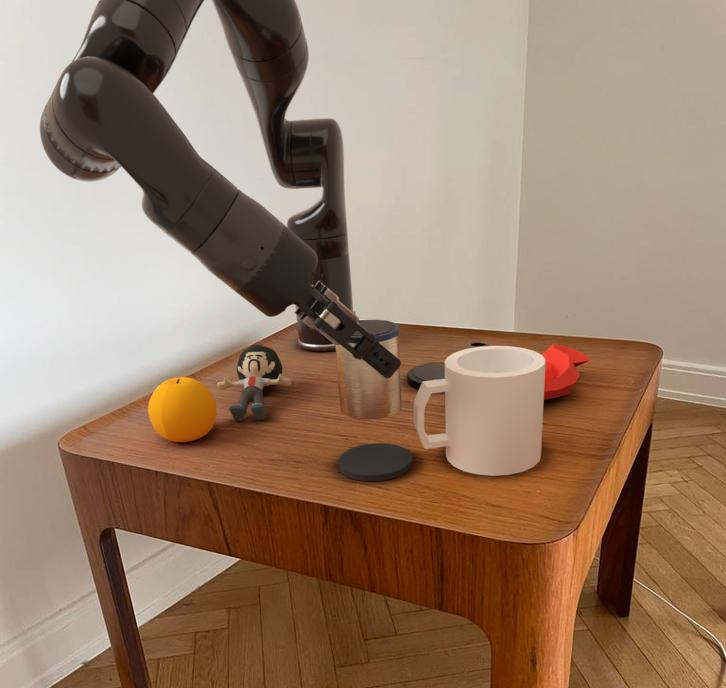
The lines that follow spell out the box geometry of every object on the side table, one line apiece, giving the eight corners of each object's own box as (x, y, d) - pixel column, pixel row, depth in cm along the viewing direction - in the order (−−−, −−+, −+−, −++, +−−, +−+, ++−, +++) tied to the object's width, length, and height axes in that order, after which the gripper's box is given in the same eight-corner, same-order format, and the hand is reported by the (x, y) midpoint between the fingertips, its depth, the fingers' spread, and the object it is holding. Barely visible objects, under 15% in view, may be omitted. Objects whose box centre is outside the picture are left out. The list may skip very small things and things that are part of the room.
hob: (398, 375, 106) (398, 367, 106) (457, 366, 108) (457, 357, 108) (420, 396, 99) (419, 386, 98) (483, 385, 101) (483, 376, 100)
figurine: (206, 409, 93) (222, 336, 103) (217, 446, 98) (231, 373, 108) (285, 404, 92) (292, 332, 102) (292, 442, 97) (299, 369, 107)
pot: (333, 402, 80) (326, 324, 76) (390, 393, 81) (387, 316, 78) (348, 424, 74) (343, 340, 70) (410, 413, 76) (407, 331, 72)
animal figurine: (601, 377, 100) (604, 340, 98) (558, 415, 90) (561, 375, 87) (521, 366, 107) (522, 331, 104) (472, 400, 96) (472, 362, 94)
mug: (429, 485, 76) (426, 386, 71) (407, 446, 85) (403, 355, 80) (556, 468, 77) (562, 370, 73) (521, 430, 86) (524, 341, 82)
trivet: (331, 456, 84) (330, 450, 83) (398, 444, 85) (398, 438, 85) (349, 487, 77) (349, 480, 76) (423, 473, 78) (422, 466, 78)
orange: (194, 419, 97) (183, 363, 93) (233, 432, 92) (224, 374, 88) (141, 440, 91) (128, 382, 88) (180, 455, 87) (168, 394, 83)
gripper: (295, 231, 61) (432, 350, 69) (266, 212, 74) (385, 315, 82) (240, 303, 63) (381, 412, 70) (220, 273, 75) (342, 368, 83)
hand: (383, 359), depth 76 cm, fingers closed on pot, 6 cm apart
